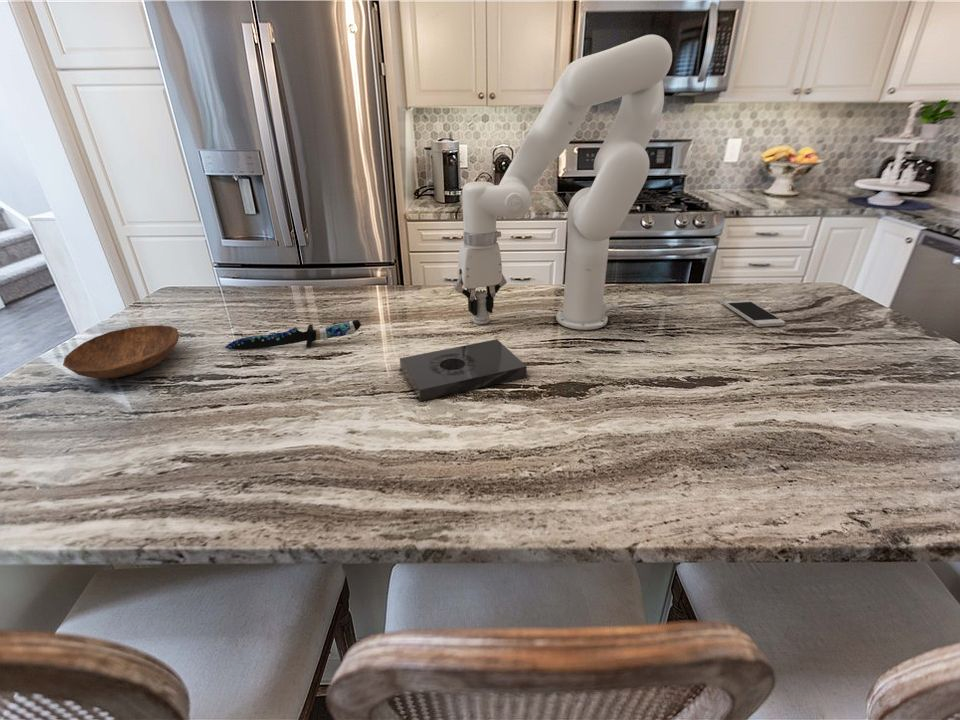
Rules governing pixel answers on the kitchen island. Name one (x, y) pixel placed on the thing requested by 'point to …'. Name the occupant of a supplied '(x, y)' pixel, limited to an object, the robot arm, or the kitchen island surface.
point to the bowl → (122, 351)
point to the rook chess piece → (481, 308)
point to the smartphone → (754, 313)
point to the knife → (295, 336)
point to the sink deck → (461, 369)
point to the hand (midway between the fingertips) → (481, 311)
